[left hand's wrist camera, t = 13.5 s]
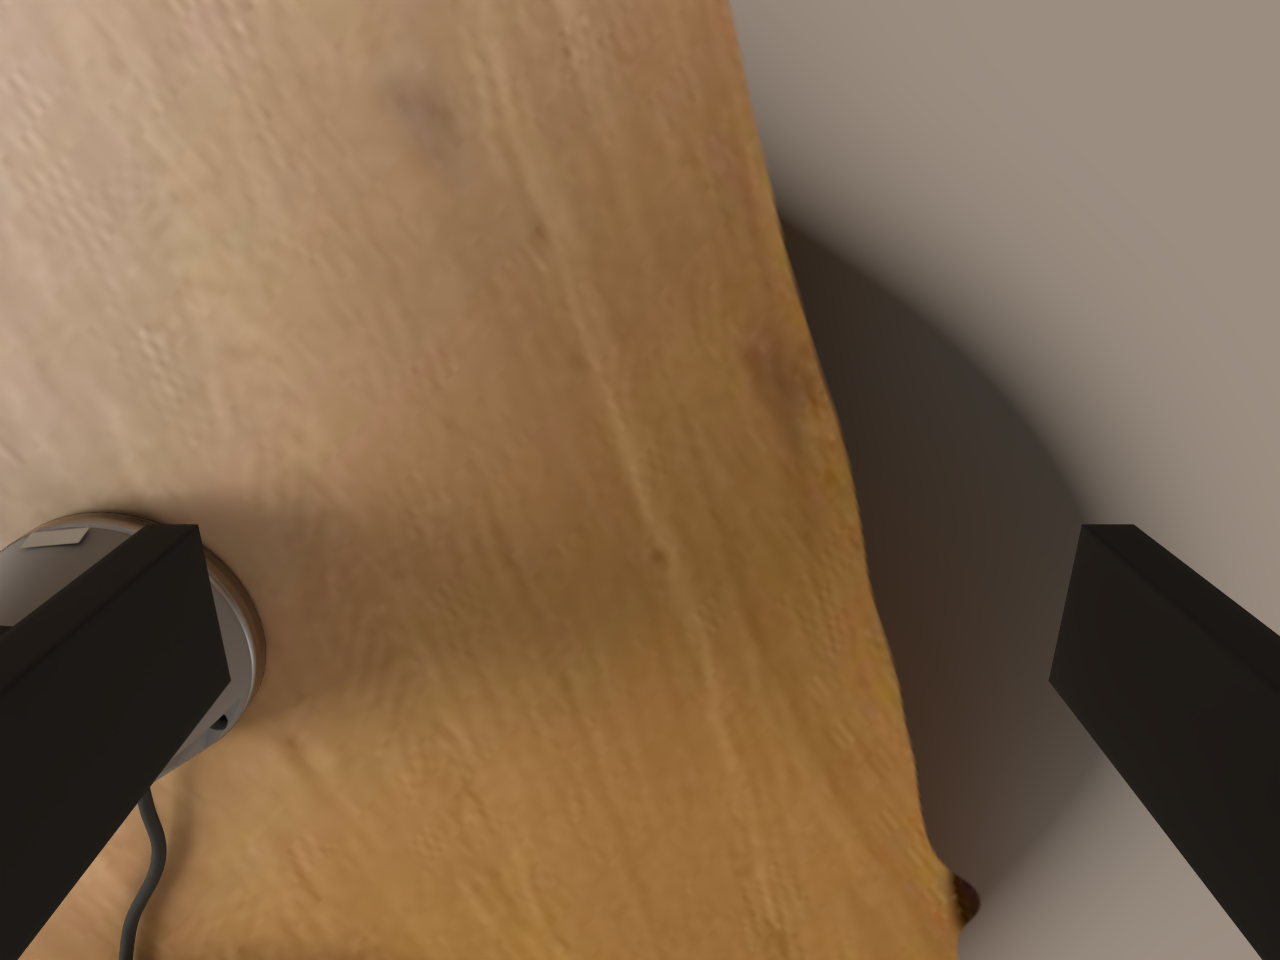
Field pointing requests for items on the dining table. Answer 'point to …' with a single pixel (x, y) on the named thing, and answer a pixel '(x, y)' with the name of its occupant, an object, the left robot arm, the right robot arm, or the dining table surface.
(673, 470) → the dining table surface
